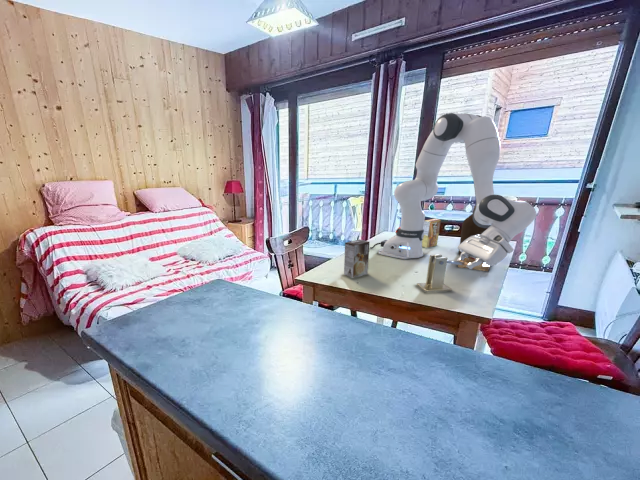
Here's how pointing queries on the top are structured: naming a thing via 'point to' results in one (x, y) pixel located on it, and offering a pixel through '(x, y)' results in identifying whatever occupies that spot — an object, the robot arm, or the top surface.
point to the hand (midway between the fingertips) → (463, 265)
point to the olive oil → (470, 229)
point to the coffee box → (356, 258)
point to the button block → (480, 267)
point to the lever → (454, 262)
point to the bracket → (435, 275)
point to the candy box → (431, 232)
